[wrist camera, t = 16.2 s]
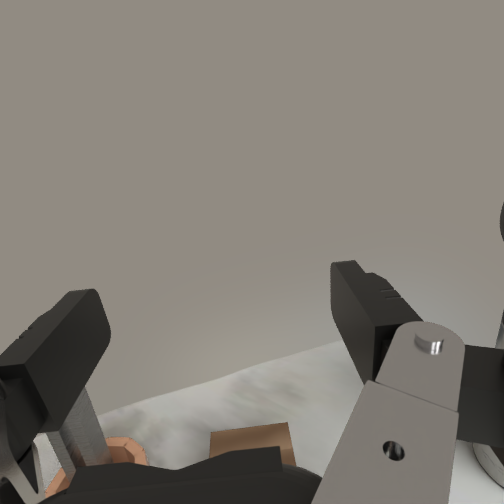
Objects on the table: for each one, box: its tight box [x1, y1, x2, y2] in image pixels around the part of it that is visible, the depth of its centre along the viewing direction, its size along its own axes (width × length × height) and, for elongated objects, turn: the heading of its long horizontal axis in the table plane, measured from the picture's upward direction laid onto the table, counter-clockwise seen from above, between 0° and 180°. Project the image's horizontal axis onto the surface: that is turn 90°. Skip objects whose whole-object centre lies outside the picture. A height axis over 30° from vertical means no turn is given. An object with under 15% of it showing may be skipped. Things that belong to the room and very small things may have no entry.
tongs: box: [46, 386, 114, 483], centre depth 28 cm, size 3×3×21 cm
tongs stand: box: [209, 422, 296, 466], centre depth 33 cm, size 10×9×5 cm
